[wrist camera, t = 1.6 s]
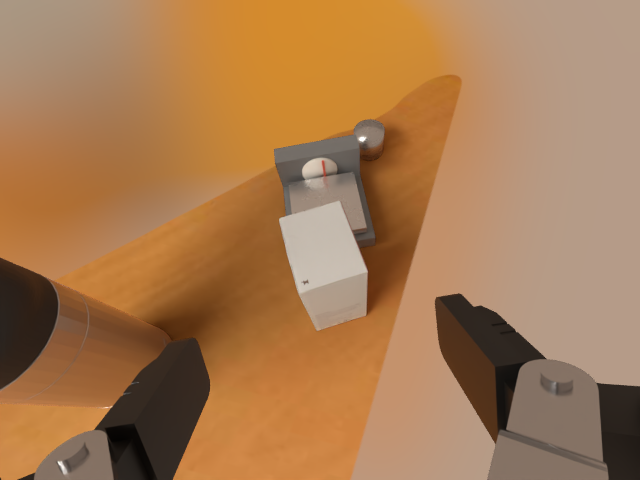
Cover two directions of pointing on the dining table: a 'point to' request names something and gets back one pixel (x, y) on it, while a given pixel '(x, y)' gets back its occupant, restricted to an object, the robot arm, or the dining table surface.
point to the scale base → (324, 170)
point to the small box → (326, 264)
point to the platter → (330, 197)
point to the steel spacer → (370, 139)
